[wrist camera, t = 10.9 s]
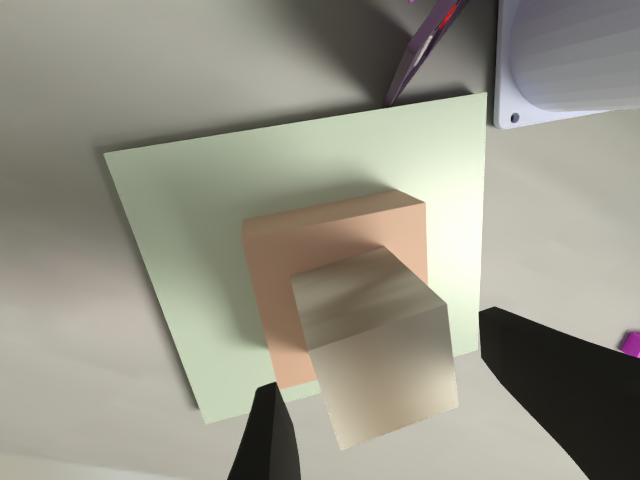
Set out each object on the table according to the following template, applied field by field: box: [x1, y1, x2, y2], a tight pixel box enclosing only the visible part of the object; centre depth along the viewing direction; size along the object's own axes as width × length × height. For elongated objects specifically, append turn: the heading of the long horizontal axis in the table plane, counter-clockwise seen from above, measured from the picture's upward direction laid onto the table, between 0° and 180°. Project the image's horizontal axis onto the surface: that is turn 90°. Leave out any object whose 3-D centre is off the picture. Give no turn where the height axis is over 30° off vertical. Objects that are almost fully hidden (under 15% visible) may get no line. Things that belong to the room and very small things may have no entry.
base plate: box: [103, 92, 487, 424], centre depth 18 cm, size 18×16×1 cm
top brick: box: [290, 246, 459, 451], centre depth 13 cm, size 4×4×5 cm
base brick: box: [241, 190, 428, 390], centre depth 16 cm, size 8×8×3 cm
